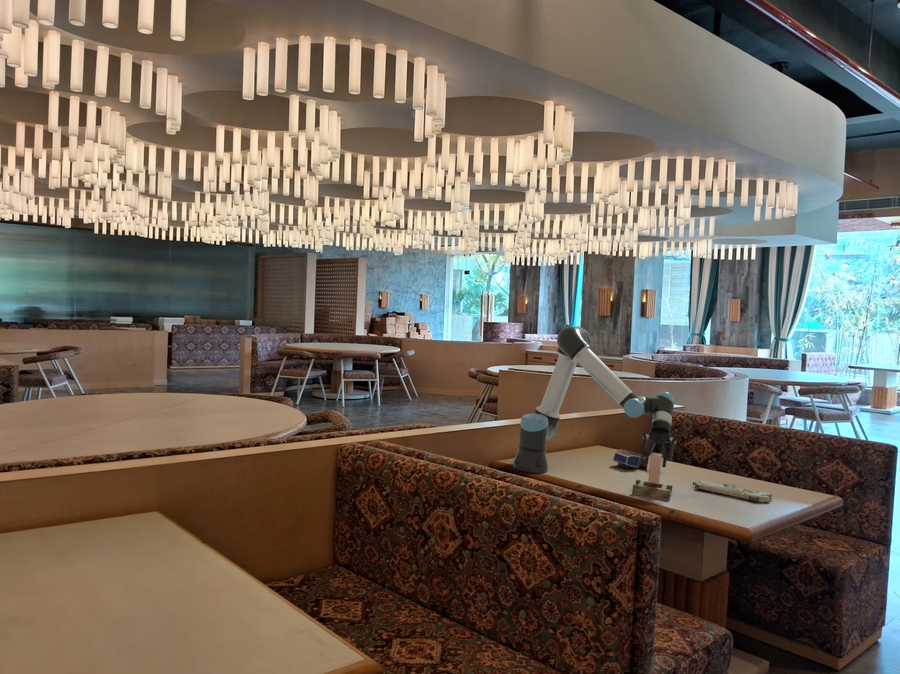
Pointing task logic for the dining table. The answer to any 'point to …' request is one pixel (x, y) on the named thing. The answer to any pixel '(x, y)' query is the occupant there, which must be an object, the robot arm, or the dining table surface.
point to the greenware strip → (654, 468)
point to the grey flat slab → (734, 491)
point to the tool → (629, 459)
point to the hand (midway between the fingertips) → (654, 472)
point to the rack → (652, 489)
